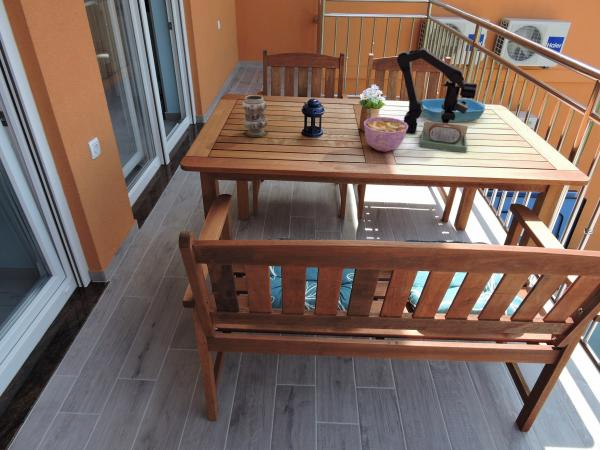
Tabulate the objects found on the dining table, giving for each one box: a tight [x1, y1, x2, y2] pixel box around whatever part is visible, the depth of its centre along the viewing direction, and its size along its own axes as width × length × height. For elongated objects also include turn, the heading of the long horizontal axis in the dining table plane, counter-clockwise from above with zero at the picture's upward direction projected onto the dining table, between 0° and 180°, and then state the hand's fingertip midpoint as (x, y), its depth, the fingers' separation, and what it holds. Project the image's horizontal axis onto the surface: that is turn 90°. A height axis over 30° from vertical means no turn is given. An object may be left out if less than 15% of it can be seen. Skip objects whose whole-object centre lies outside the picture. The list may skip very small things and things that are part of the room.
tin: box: [429, 124, 461, 143], centre depth 199 cm, size 15×3×8 cm, turn 73°
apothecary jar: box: [241, 94, 269, 138], centre depth 203 cm, size 12×12×18 cm
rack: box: [419, 120, 469, 153], centre depth 199 cm, size 21×16×8 cm
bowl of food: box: [363, 116, 408, 153], centre depth 192 cm, size 20×20×12 cm
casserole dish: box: [421, 97, 486, 123], centre depth 232 cm, size 37×22×7 cm, turn 97°
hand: (444, 127), depth 207 cm, fingers closed
